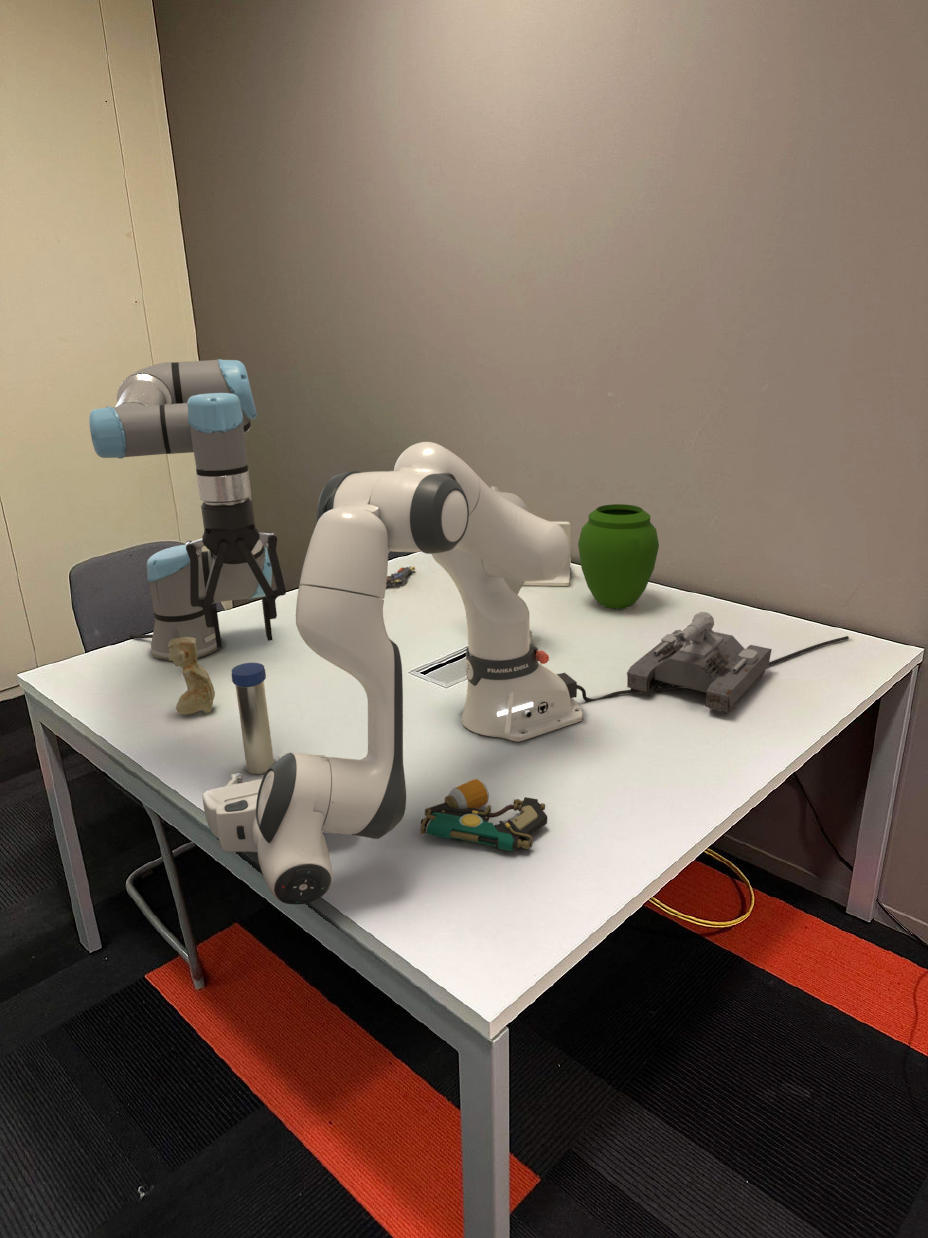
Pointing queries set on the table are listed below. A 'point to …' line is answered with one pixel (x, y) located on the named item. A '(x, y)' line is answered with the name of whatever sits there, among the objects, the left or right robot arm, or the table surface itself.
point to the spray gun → (483, 818)
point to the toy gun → (399, 575)
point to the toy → (701, 664)
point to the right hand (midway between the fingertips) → (268, 770)
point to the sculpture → (191, 677)
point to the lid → (248, 674)
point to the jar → (255, 728)
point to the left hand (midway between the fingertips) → (244, 641)
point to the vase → (618, 554)
